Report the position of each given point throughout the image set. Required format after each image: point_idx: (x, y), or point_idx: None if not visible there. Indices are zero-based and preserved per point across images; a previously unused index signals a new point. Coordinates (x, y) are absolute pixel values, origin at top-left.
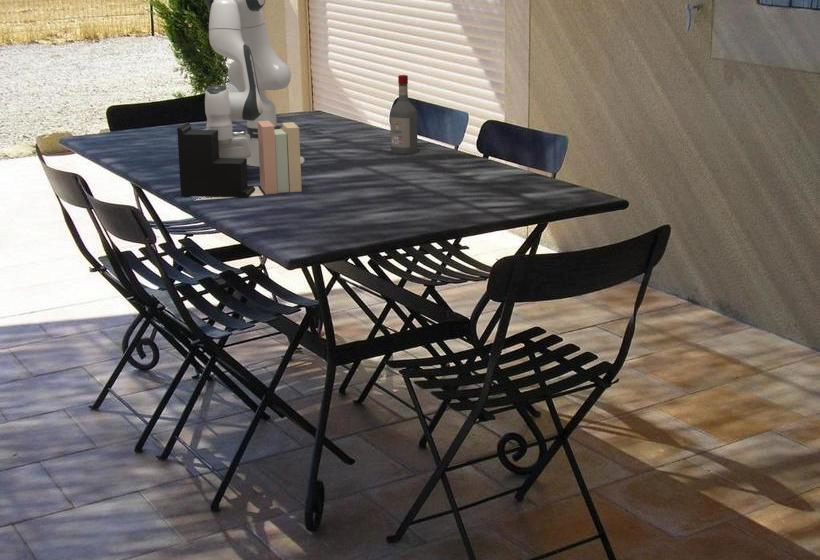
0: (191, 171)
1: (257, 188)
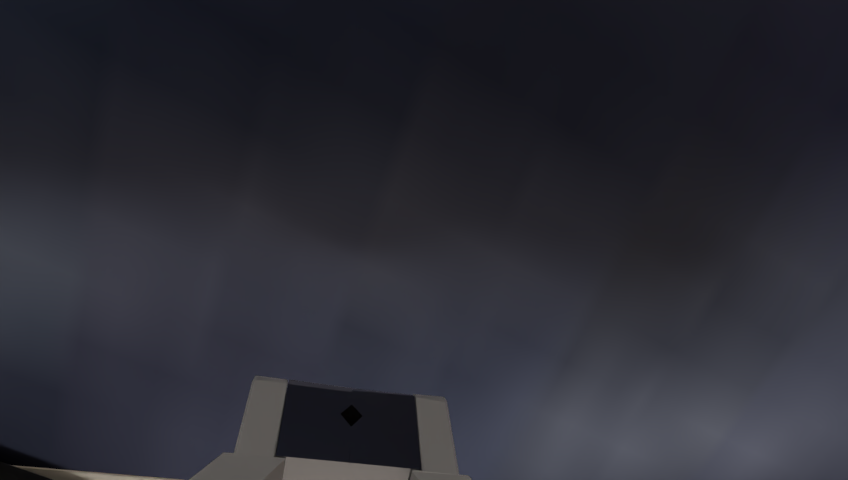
0: None
1: None
